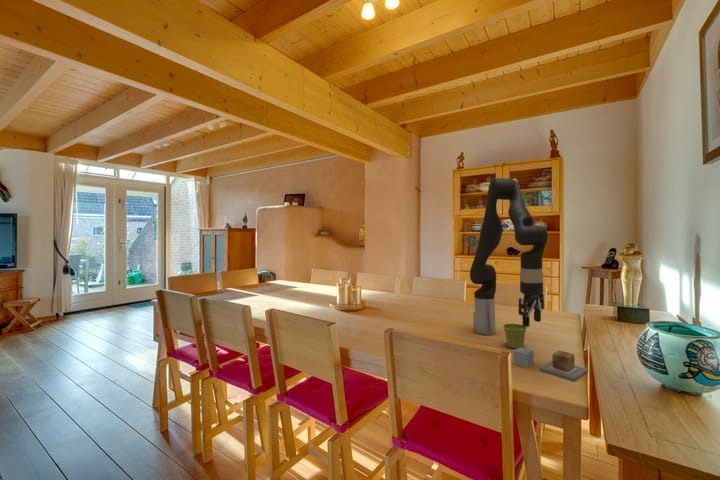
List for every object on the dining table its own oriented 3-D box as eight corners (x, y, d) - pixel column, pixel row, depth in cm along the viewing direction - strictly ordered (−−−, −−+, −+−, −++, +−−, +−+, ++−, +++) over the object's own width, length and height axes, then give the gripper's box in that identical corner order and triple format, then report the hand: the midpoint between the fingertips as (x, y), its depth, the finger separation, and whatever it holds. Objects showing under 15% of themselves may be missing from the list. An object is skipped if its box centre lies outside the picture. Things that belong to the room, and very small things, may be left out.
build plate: (539, 370, 114) (539, 367, 114) (554, 362, 120) (554, 359, 120) (574, 381, 105) (574, 378, 105) (588, 372, 111) (588, 368, 111)
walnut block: (552, 367, 113) (552, 353, 113) (559, 363, 116) (558, 350, 116) (568, 372, 109) (567, 358, 109) (574, 368, 112) (574, 354, 111)
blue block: (513, 363, 120) (513, 350, 120) (520, 360, 123) (520, 347, 123) (526, 367, 116) (526, 354, 116) (533, 364, 119) (533, 350, 119)
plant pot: (514, 352, 131) (513, 331, 131) (498, 344, 140) (497, 324, 140) (533, 348, 134) (532, 328, 133) (516, 341, 143) (515, 322, 142)
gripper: (530, 276, 124) (530, 317, 125) (511, 281, 116) (511, 325, 117) (551, 278, 118) (551, 322, 119) (532, 284, 110) (532, 330, 111)
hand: (531, 323), depth 118 cm, fingers open, 8 cm apart
